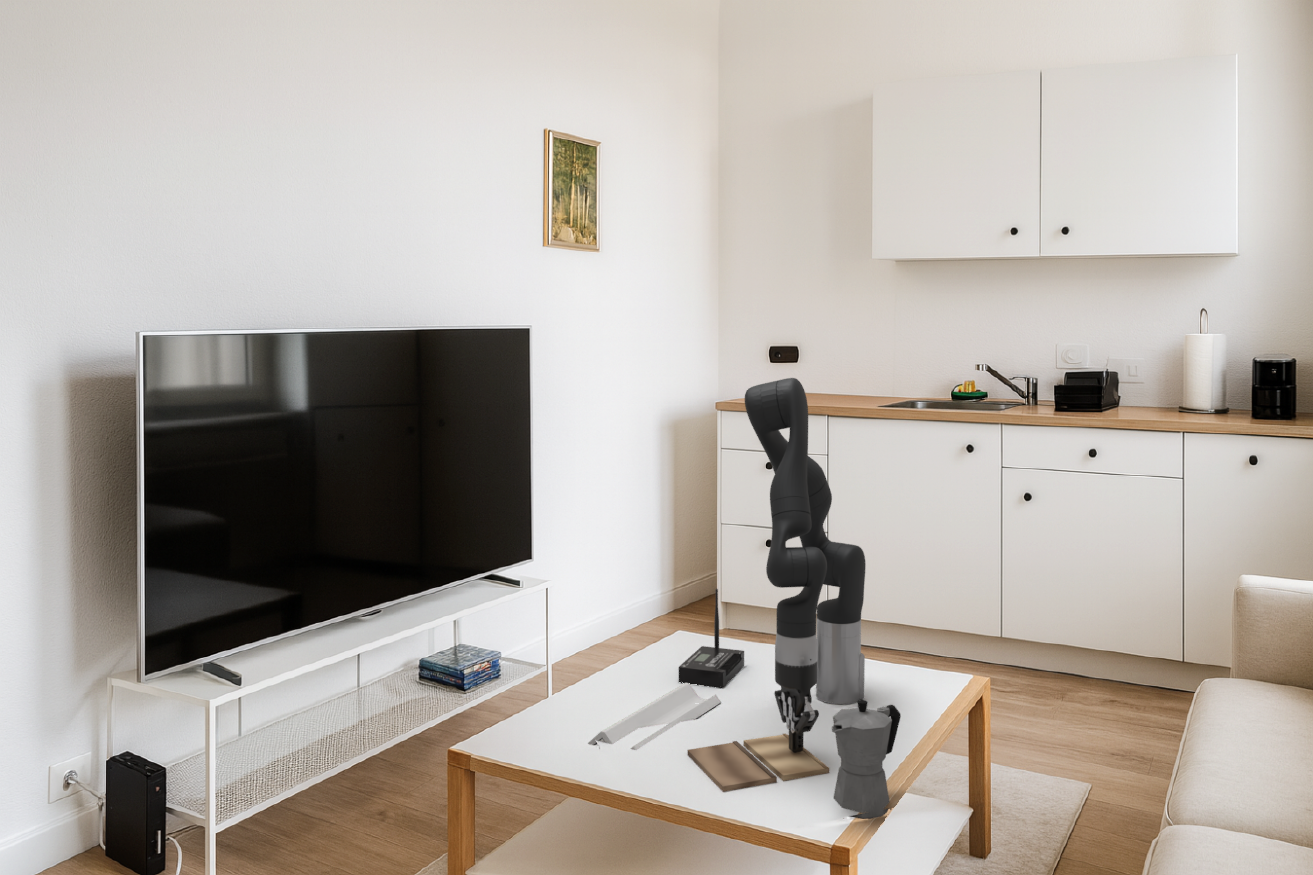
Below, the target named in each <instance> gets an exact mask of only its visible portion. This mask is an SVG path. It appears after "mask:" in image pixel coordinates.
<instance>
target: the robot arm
mask: <svg viewBox="0 0 1313 875" xmlns="http://www.w3.org/2000/svg"><path fill="white" fill-rule="evenodd" d="M744 406H745V411H746V414H747V417H748V420H749V422H750V424H751V426H752V428H753V430H754V432H755V435H756V437H757V438H758V440H759V443H760V444H761V446H762V448H763V450H764V452H765V454H766V455H767V457H768V460H769V462H770V465H771V467H772V470H773V473H774V474H773V478H772V481H771V483H770V489H769V505H770V515H771V528H772V529H771V540H770V546H769V551H768V556H767V561H766V568H765V569H766V578H768V580H769V582H770V584H771V585H773V586H774V587H776V588H780V589H781V588H783V589H784V588H802V587H803V588H802V590H801V591H800V592H799V593H797V594H796V595H794V596H791V597H788V598H784V599H781V600H780V601H779V602H778V603H777V605H776V634H775V635H776V636H775V644H774V645H775V647H774V681H775V682H776V684H777V686H780V689H779V690H775V691H774V697H775V701H776V704H777V708H778V711H779V714H780V719H781V721H782V723H783V724H785V727H786V729H787V730H788V735H789V749H790V750H791V751H792V752H794V753H796V752H801V751H803V747H804V733H807V732H811V730H812V729H813V727H814V725H815V723H816V721H817V720H818V718H819V717H820V712H819V711H818V709H813V707H812V700H813V698H812V692H811V690H812V688H813V687H814V686H815V689H816V690H815V692H816V694H815V696H816V698H817V699H818V700H820V701H822V702H824V703H829V704H834V705H849V704H853V703H856V702H857V701H858V700H864V699H865V670H866V669H865V663H866V660H865V659H866V658H865V654H864V653H862V651H861V650H862V612H863V604H864V599H865V598H864V597H865V582H866V581H865V580H866V566H867V565H866V557H865V556H866V555H865V552H864V550H863V549H862V547H861V546H859V545H857V544H850V543H844V542H836V541H831V540H830V539H829V538H828V537H827V534H826V533H825V529H824V523H825V520H826V518H827V516H828V514H829V512H830V509H831V506H832V500H833V496H832V491H831V489H830V484H829V483H828V480H827V478H826V475H825V474H826V473H825V472H824V470H823V468H822V467H821V465H819V463H818V462H817V461H816V460H814V458H812V457H810V456H809V406H808V399H807V395H806V391H805V389H804V386H803V384H802V383H801V382H800V380H799V379H797V378H796V377H788V378H782V379H779V380H774V381H769V382H765V383H761V384H756V385H753V386H751V387H749V388H747V390H746V391H745V394H744ZM784 429H789V437H788V440H787V439H786V438H785V437H784V436H783V435H782V433H781V432H780V430H784ZM795 538H799V540H800V542H801V546H793V547H792V546H791V547H787V546H786V542H787V541H789V540H791V539H795ZM824 585H825V586H831V587H836V588H838V590H839V591H838V596H837V597H835V598H831V599H826V600H823V601H821V602H819V600H820V595H821V593H822V589H823V586H824ZM857 703H858V702H857Z"/></svg>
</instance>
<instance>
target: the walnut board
mask: <svg viewBox="0 0 1313 875" xmlns="http://www.w3.org/2000/svg"><path fill="white" fill-rule="evenodd" d="M687 756H688V757H689V758H690V759H691V760H692V761H693V762H694V763H695V764H696V765H697V766H698V767H699V768H700V769H701V771H702V772H703V773H704V774H705V775H706V776H707V777H708V778H709V779H710V780H711V781H712V782H713V783H714V784H715V785H716V786H717V787H718V788H719V789H720V790H721V791H722V792H723V793H725V792H730V791H736V790H741V789H745V788H753V787H757V786H758V787H759V786H763V785H768V784H774V783H775V784H776V783H777V782H778V781H777V780H778V778H777V777H778V776H777V775H776V774H774V773H773V772H772V771H771V770H770V769H769V768H768V767H767V766H766V765H764V764H763V763H762V762H761V761H760V760H759V759H758V758H757V757H756V756H754V755H753V754H752V753H751V752H750V751H749V750H748V749H747V748H745V747H744V746H743V744H741V743H740V742H738V741H737V740H734V741H733V740H732V742H729V743H722V744H715V745H709V746H703V747H696V748H690V749H687Z"/></svg>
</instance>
